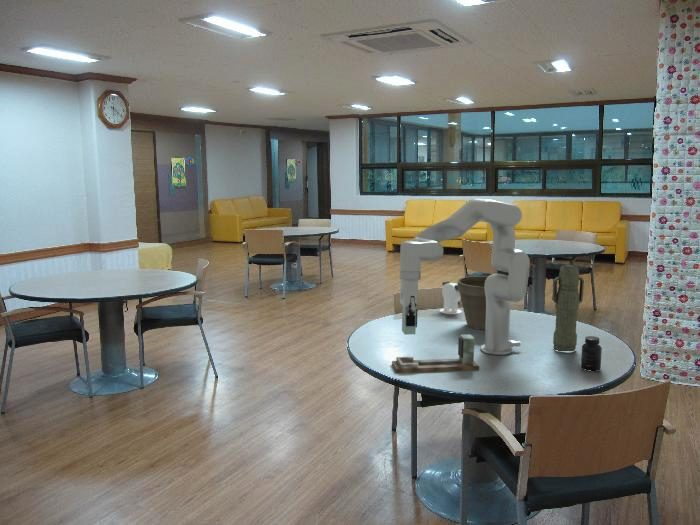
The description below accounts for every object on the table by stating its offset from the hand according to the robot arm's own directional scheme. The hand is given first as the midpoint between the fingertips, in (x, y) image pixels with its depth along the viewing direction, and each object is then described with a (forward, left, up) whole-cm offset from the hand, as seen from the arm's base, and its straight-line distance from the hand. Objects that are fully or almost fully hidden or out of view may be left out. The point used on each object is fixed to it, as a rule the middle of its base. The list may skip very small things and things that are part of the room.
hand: (408, 323), depth 217 cm
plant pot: (-47, -54, -17) cm, 74 cm away
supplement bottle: (-67, +8, -17) cm, 70 cm away
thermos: (-68, -15, -17) cm, 72 cm away
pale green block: (0, 0, -3) cm, 3 cm away
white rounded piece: (-40, -83, -17) cm, 94 cm away
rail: (-10, 0, -17) cm, 20 cm away
